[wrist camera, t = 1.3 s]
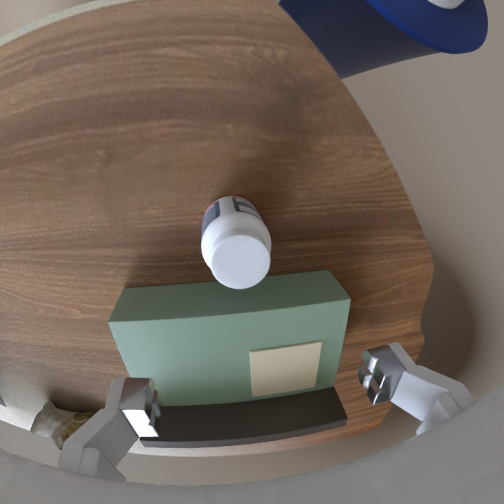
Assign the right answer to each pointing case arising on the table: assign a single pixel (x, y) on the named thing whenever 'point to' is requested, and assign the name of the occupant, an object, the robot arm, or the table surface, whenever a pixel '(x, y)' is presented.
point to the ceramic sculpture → (58, 423)
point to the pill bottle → (235, 242)
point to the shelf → (237, 357)
